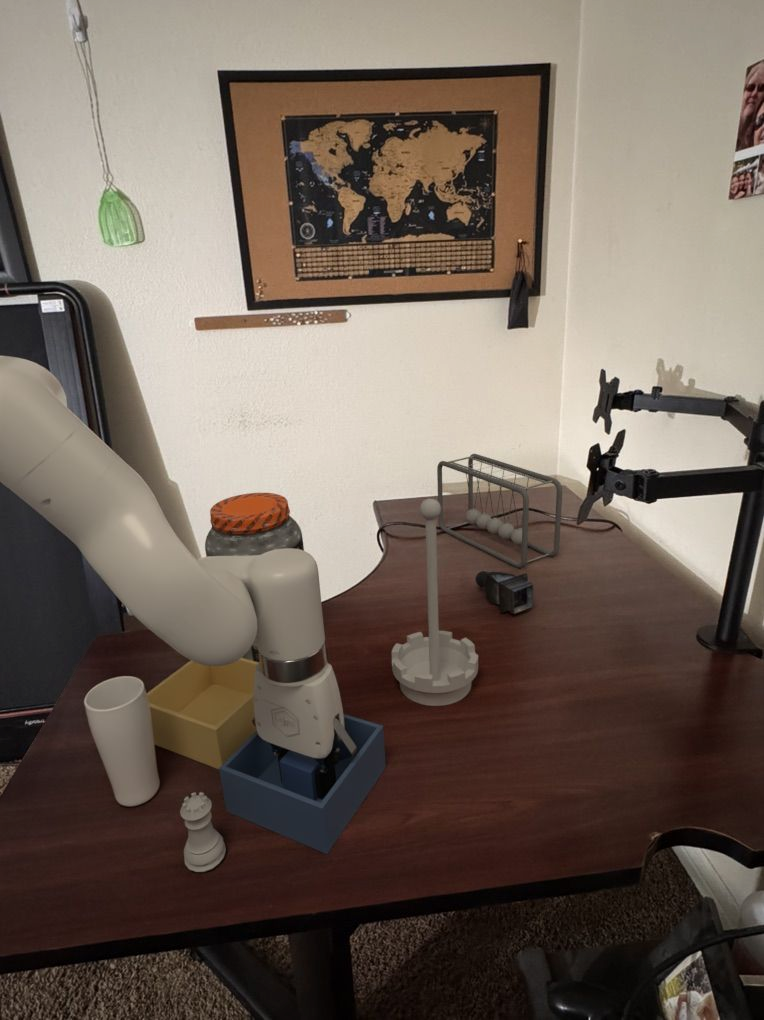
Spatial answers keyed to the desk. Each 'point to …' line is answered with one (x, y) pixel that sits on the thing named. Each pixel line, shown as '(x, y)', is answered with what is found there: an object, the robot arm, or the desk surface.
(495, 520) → the newton's cradle
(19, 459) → the robot arm
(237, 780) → the slate bin
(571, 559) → the desk surface
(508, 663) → the desk surface
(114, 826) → the desk surface
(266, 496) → the supplement tub
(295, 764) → the blue block
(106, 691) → the drinking glass
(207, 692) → the yellow bin
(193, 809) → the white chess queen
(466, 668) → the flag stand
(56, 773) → the desk surface
